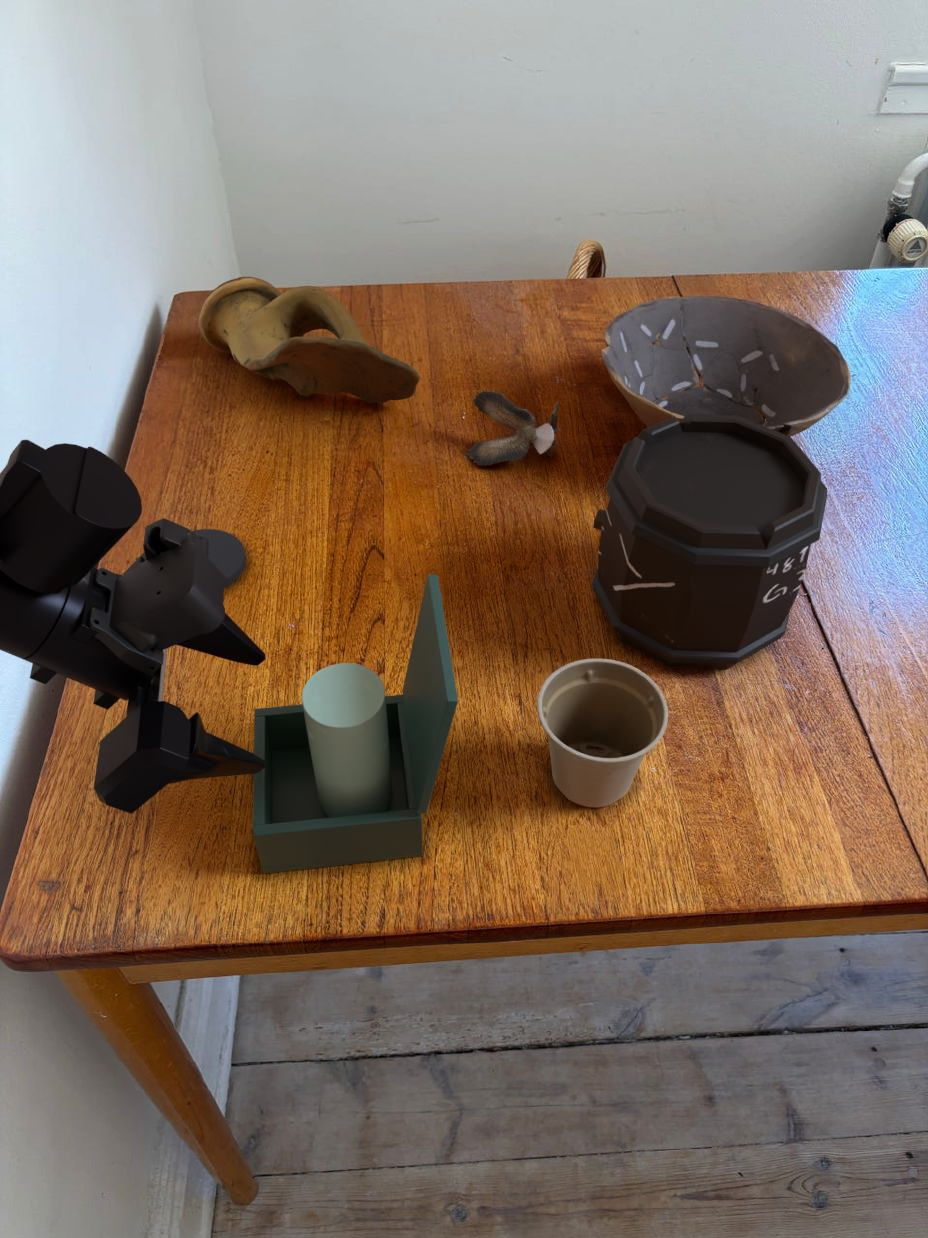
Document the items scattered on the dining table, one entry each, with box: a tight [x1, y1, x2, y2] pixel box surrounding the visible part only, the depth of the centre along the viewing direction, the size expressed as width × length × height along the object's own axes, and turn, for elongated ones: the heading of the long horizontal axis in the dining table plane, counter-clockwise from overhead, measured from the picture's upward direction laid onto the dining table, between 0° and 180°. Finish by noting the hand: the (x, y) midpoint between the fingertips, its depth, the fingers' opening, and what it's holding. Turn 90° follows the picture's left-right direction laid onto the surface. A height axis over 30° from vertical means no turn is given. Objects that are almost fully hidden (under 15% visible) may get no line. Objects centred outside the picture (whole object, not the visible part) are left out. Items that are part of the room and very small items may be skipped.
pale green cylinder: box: [301, 662, 392, 818], centre depth 72 cm, size 6×6×12 cm
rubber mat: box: [191, 528, 247, 589], centre depth 94 cm, size 8×8×1 cm
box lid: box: [401, 573, 459, 815], centre depth 69 cm, size 12×11×1 cm
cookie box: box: [252, 694, 424, 875], centre depth 75 cm, size 12×11×5 cm
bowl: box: [601, 295, 852, 438], centre depth 106 cm, size 25×25×10 cm
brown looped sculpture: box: [198, 276, 421, 404], centre depth 110 cm, size 18×13×22 cm
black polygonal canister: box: [591, 414, 828, 671], centre depth 86 cm, size 18×18×16 cm
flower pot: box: [536, 658, 669, 808], centre depth 76 cm, size 9×9×9 cm
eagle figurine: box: [467, 390, 562, 467], centre depth 105 cm, size 8×7×9 cm
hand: (261, 711), depth 68 cm, fingers open, 9 cm apart
